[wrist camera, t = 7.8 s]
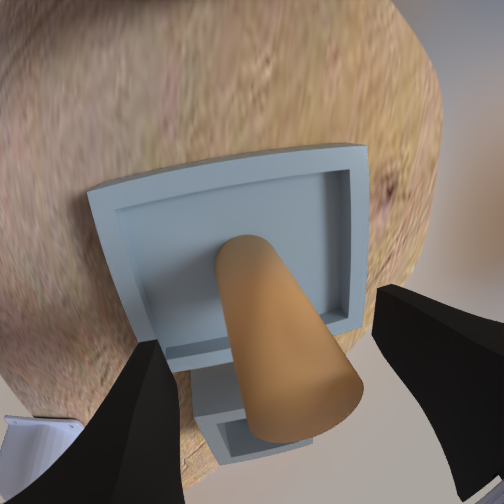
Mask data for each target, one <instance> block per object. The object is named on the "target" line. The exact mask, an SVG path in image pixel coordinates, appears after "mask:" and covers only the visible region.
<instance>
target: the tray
mask: <svg viewBox="0 0 504 504" xmlns="http://www.w3.org/2000/svg"><path fill="white" fill-rule="evenodd" d="M87 195H88V199H89V203H90V207H91V211H92V215H93V218H94V222H95V226H96V229H97V232H98V236H99V239H100V242H101V246H102V249H103V252H104V255H105V258H106V261H107V264H108V267H109V270H110V273H111V276H112V279H113V281H114V284H115V287H116V290H117V292H118V295H119V298H120V300H121V303H122V305H123V308H124V310H125V313H126V315H127V318H128V320H129V323H130V325H131V327H132V330H133V332H134V334H135V337H136V339H137V341H138V343H139V342H143V341H149V340H155V339H158V341H159V344H160V346H161V349H162V351H163V353H164V356H165V358H166V360H167V363H168V365H169V367H170V370H171V372H172V373H173V372H179V371H185V370H191V369H197V368H203V367H208V366H214V365H219V364H224V363H229V362H233V357H232V353H231V348H230V343H229V339H228V334H227V329H226V324H225V320H224V315H223V310H222V305H221V300H220V295H219V289H218V284H217V279H216V274H215V259H216V255H217V253H218V251H219V250H220V248H221V247H222V246H223V245H224V244H225V243H226V242H228V241H229V240H231V239H232V238H235V237H237V236H241V235H256V236H259V237H262V238H264V239H265V240H267V241H268V242H269V243H270V244H271V245H272V246H273V248H274V249H275V251H276V252H277V254H278V255H279V257H280V258H281V260H282V261H283V262H284V264H285V265H286V267H287V268H288V270H289V271H290V273H291V274H292V276H293V277H294V279H295V280H296V282H297V283H298V285H299V286H300V288H301V289H302V290H303V292H304V293H305V295H306V296H307V298H308V299H309V301H310V302H311V304H312V305H313V307H314V308H315V310H316V311H317V313H318V314H319V316H320V317H321V319H322V320H323V322H324V323H325V325H326V326H327V328H328V329H329V331H330V332H331V334H332V336H335V335H339V334H342V333H345V332H348V331H351V330H355V329H358V328H361V327H362V325H363V316H364V306H365V295H366V282H367V266H368V243H369V172H368V150H367V146H366V145H360V144H353V143H333V144H320V145H309V146H299V147H289V148H281V149H272V150H264V151H257V152H250V153H243V154H236V155H230V156H224V157H218V158H212V159H206V160H201V161H196V162H190V163H185V164H180V165H175V166H171V167H166V168H161V169H157V170H152V171H148V172H144V173H139V174H135V175H131V176H127V177H123V178H119V179H116V180H112V181H108V182H104V183H101V184H99V185H97V186H96V187H94V188H93V189H91V190H89V191H88V192H87Z"/></svg>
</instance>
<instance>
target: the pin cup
mask: <svg viewBox="0 0 504 504" xmlns="http://www.w3.org/2000/svg"><path fill="white" fill-rule="evenodd" d="M190 377H191V393H192V406H193V417H194V419H195V421H196V423H197V425H198V427H199V429H200V431H201V433H202V435H203V437H204V439H205V440H206V442H207V444H208V446H209V448H210V450H211V451H212V453H213V455H214V457H215V458H216V460H217V462H218V464H219V465H225V464H231V463H237V462H242V461H247V460H252V459H257V458H261V457H266V456H270V455H274V454H277V453H282V452H286V451H289V450H293V449H297V448H300V447H304V446H307V445H310V444H312V443H313V437H312V438H309V439H305V440H302V441H297V442H290V443H273V442H267V441H264V440H261V439H259V438H257V437H256V436H254V435H253V434H252V432H251V431H250V429H249V426H248V422H247V418H246V414H245V410H244V406H243V401H242V397H241V393H240V388H239V384H238V380H237V375H236V371H235V366H234V362H229V363H224V364H219V365H214V366H208V367H203V368H197V369H191V370H190Z"/></svg>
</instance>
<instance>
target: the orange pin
mask: <svg viewBox="0 0 504 504" xmlns="http://www.w3.org/2000/svg"><path fill="white" fill-rule="evenodd" d="M215 274H216V279H217V284H218V289H219V295H220V300H221V305H222V310H223V315H224V320H225V324H226V329H227V334H228V339H229V343H230V348H231V353H232V357H233V362H234V366H235V371H236V375H237V380H238V384H239V388H240V393H241V397H242V401H243V406H244V410H245V414H246V418H247V422H248V426H249V429H250V431H251V432H252V434H253V435H254V436H256V437H257V438H259V439H261V440H264V441H267V442H273V443H290V442H297V441H302V440H305V439H309V438H312V437H314V436H317V435H319V434H322V433H324V432H326V431H328V430H330V429H331V428H333V427H335V426H336V425H338V424H339V423H340V422H342V421H343V420H344V419H346V418H347V417H348V416H349V415H350V414H351V413H352V412H353V410H354V409H355V408H356V407H357V405H358V404H359V402H360V400H361V398H362V395H363V391H364V386H363V382H362V380H361V378H360V377H359V375H358V374H357V372H356V371H355V369H354V368H353V366H352V365H351V363H350V361H349V360H348V359H347V357H346V355H345V354H344V352H343V351H342V349H341V348H340V346H339V345H338V343H337V342H336V340H335V339H334V337H333V336H332V334H331V332H330V331H329V329H328V328H327V326H326V325H325V323H324V322H323V320H322V319H321V317H320V316H319V314H318V313H317V311H316V310H315V308H314V307H313V305H312V304H311V302H310V301H309V299H308V298H307V296H306V295H305V293H304V292H303V290H302V289H301V288H300V286H299V285H298V283H297V282H296V280H295V279H294V277H293V276H292V274H291V273H290V271H289V270H288V268H287V267H286V265H285V264H284V262H283V261H282V260H281V258H280V257H279V255H278V254H277V252H276V251H275V249H274V248H273V246H272V245H271V244H270V243H269V242H268V241H267V240H265V239H264V238H262V237H259V236H256V235H241V236H237V237H235V238H232V239H231V240H229V241H228V242H226V243H225V244H224V245H223V246H222V247H221V248H220V250H219V251H218V253H217V255H216V259H215Z"/></svg>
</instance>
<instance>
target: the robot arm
mask: <svg viewBox="0 0 504 504" xmlns="http://www.w3.org/2000/svg"><path fill="white" fill-rule="evenodd" d="M372 337H373V338H374V340H375V342H376V344H377V346H378V347H379V349H380V351H381V353H382V354H383V356H384V358H385V359H386V360H387V362H388V363H389V364H390V366H391V367H392V368H393V370H394V371H395V372H396V374H397V375H398V376H399V378H400V379H401V380H402V381H403V383H404V384H405V385H406V387H407V388H408V389H409V391H410V392H411V393H412V395H413V396H414V397H415V399H416V400H417V402H418V403H419V404H420V406H421V408H422V409H423V411H424V413H425V414H426V416H427V418H428V420H429V422H430V423H431V425H432V427H433V429H434V431H435V433H436V436H437V438H438V440H439V442H440V444H441V446H442V448H443V451H444V454H445V456H446V459H447V461H448V464H449V466H450V469H451V473H452V476H453V479H454V482H455V486H456V490H457V494H458V496H459V498H460V499H461V501H462V502H464V501H466V500H467V499H469V498H470V497H471V496H473V495H474V494H475V493H477V492H478V491H479V490H481V489H482V488H483V487H485V486H486V485H487V484H488V483H490V482H491V481H492V480H493V479H494V478H495V477H496V476H498V475H499V476H500V477H501V479H502V481H501V482H500V483H499V484H498V485H497V486H495V487H494V488H493V489H492V490H491V491H490V492H488V493H487V494H486V495H485V496H484V497H483V498H481V499H480V500H479V501H478V502H477V503H475V504H504V323H501V322H497V321H493V320H490V319H485V318H482V317H479V316H476V315H473V314H470V313H467V312H464V311H461V310H459V309H456V308H453V307H451V306H448V305H446V304H443V303H440V302H438V301H435V300H433V299H431V298H428V297H426V296H423V295H421V294H418V293H416V292H413V291H411V290H408V289H405V288H403V287H400V286H397V285H393V284H389V285H386V286H383V287H380V288H377V294H376V303H375V312H374V320H373V327H372ZM4 420H5V421H6V422H7V423H8V424H9V426H8V429H7V431H6V435H5V437H4V441H3V444H2V447H1V450H0V494H1V496H2V497H3V499H4V500H5V501H6V502H3V504H185V500H184V495H183V489H182V483H181V472H180V409H179V400H178V391H177V383H176V381H175V379H174V377H173V374H172V372H171V370H170V367H169V365H168V363H167V360H166V358H165V356H164V353H163V351H162V349H161V346H160V344H159V341H158V339H155V340H149V341H143V342H139V343H138V345H137V346H136V348H135V350H134V351H133V353H132V355H131V356H130V358H129V360H128V361H127V363H126V365H125V366H124V368H123V370H122V372H121V373H120V375H119V377H118V378H117V380H116V381H115V383H114V385H113V386H112V388H111V390H110V391H109V393H108V395H107V396H106V398H105V399H104V401H103V402H102V404H101V405H100V407H99V408H98V410H97V411H96V413H95V414H94V416H93V417H92V419H91V420H90V421H89V423H88V424H87V425H86V427H84V426H83V425H82V424H81V423H80V422H79V421H77V420H73V419H43V418H28V417H17V416H8V415H5V417H4Z"/></svg>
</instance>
